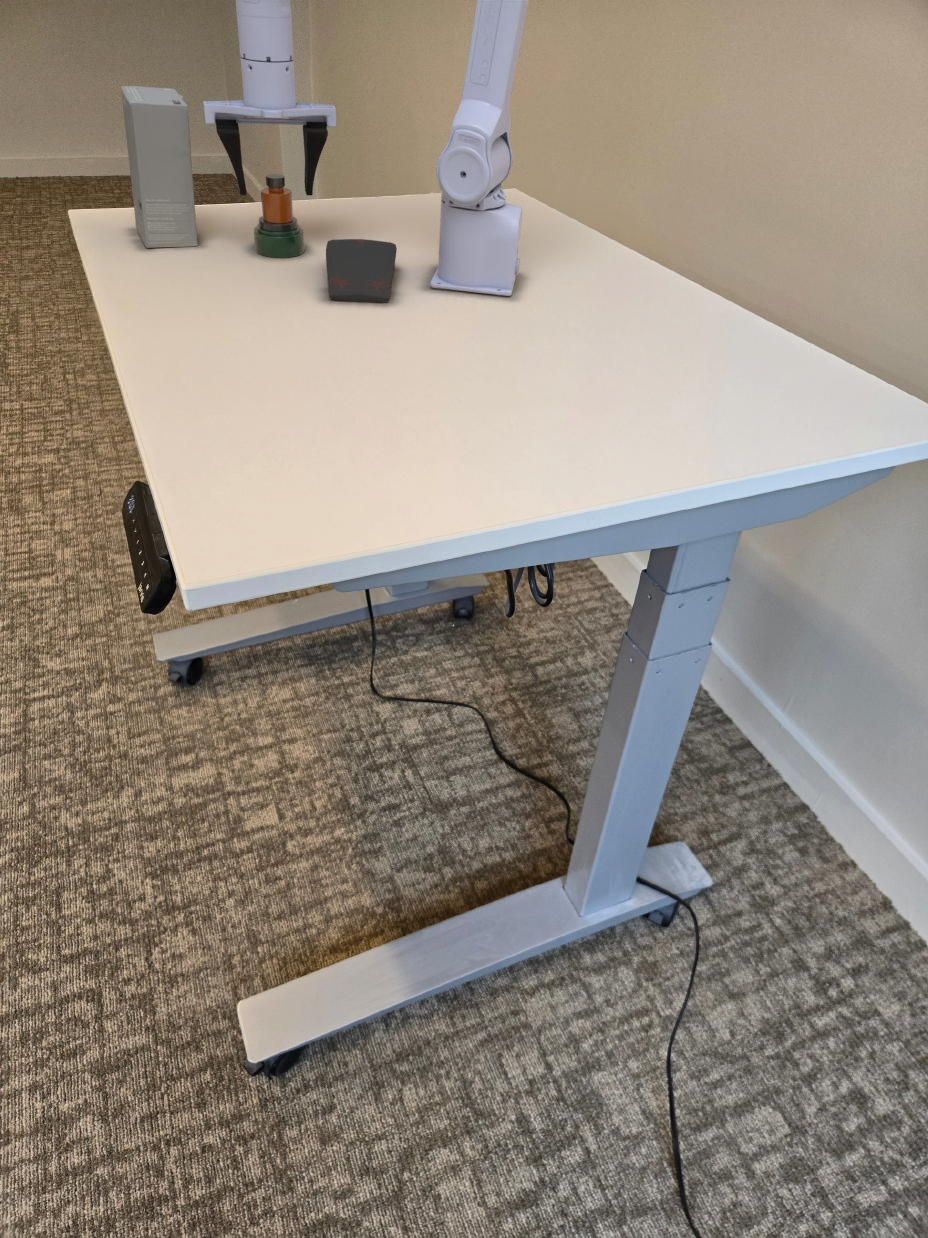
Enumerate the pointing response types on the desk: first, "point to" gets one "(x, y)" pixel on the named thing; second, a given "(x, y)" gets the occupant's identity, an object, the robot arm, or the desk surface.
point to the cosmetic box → (160, 166)
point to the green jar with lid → (279, 239)
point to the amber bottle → (276, 200)
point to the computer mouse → (360, 269)
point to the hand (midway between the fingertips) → (276, 192)
